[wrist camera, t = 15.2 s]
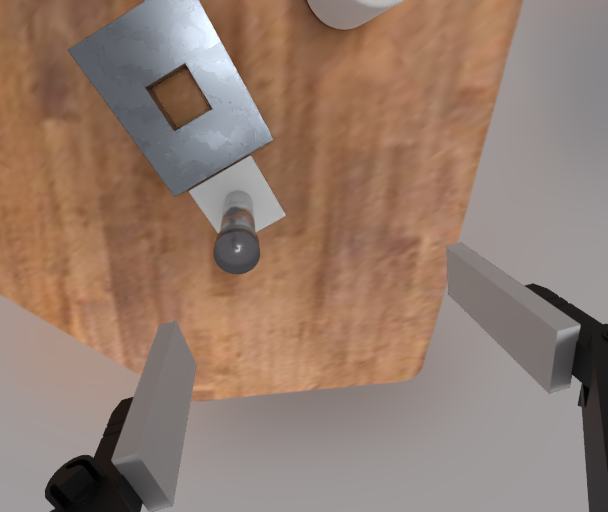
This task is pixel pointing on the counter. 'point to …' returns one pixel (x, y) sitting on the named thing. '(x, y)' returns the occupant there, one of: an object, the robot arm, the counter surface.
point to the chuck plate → (160, 65)
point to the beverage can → (349, 11)
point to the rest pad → (243, 179)
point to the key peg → (237, 235)
